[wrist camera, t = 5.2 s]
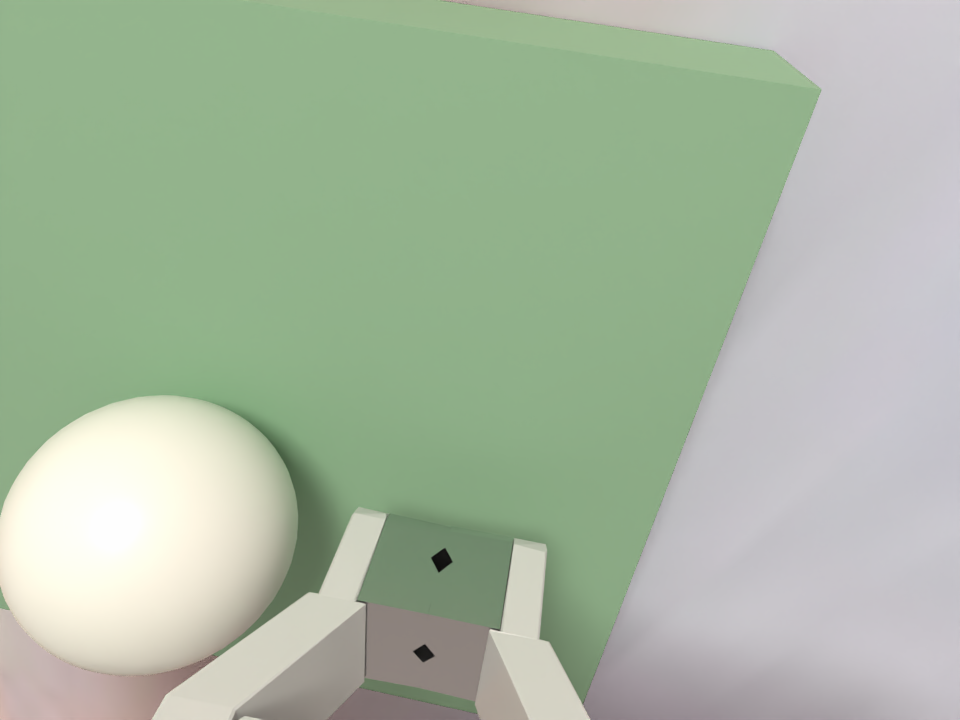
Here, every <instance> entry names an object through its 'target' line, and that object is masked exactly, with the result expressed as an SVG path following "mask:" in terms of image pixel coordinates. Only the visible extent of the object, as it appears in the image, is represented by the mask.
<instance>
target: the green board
mask: <svg viewBox="0 0 960 720" xmlns="http://www.w3.org/2000/svg"><path fill="white" fill-rule="evenodd" d="M820 92H821V89H820V88H819V87H818V86H817V85H815V84H814V83H813V82H812V81H810V80H809V79H808V78H807V77H805V76H804V75H803V74H802V73H800V72H799V71H798V70H797V69H795V68H794V67H793V66H792V65H790V64H789V63H788V62H787V61H786V60H784V59H783V58H782V57H781V56H779V55H778V54H777V53H776V52H774V51H771V50H765V49H758V48H752V47H745V46H738V45H732V44H725V43H719V42H712V41H705V40H699V39H692V38H685V37H679V36H672V35H666V34H659V33H652V32H646V31H639V30H632V29H626V28H619V27H613V26H606V25H599V24H593V23H586V22H580V21H573V20H566V19H560V18H553V17H546V16H540V15H533V14H527V13H520V12H513V11H507V10H500V9H493V8H487V7H480V6H474V5H467V4H460V3H454V2H447V1H441V0H0V515H1V512H2V508H3V505H4V501H5V499H6V497H7V495H8V493H9V491H10V489H11V486H12V485H13V483H14V481H15V479H16V478H17V476H18V475H19V473H20V472H21V470H22V469H23V467H24V466H25V464H26V463H27V461H28V460H29V459H30V458H31V457H32V456H33V455H34V454H35V453H36V452H37V450H38V449H39V448H40V447H41V446H42V445H43V444H44V443H45V442H46V441H47V440H48V439H50V438H51V437H52V436H53V435H54V434H56V433H57V432H58V431H59V430H61V429H62V428H64V427H65V426H67V425H68V424H70V423H71V422H73V421H75V420H76V419H78V418H80V417H81V416H83V415H85V414H87V413H89V412H92V411H94V410H96V409H99V408H101V407H104V406H106V405H109V404H111V403H115V402H119V401H123V400H127V399H132V398H136V397H144V396H157V395H175V396H182V397H189V398H196V399H200V400H204V401H208V402H211V403H213V404H216V405H219V406H221V407H224V408H226V409H228V410H230V411H232V412H234V413H235V414H237V415H239V416H241V417H242V418H244V419H245V420H246V421H248V422H249V423H251V424H252V425H253V426H254V427H256V428H257V429H258V430H259V431H260V432H261V433H262V434H263V435H264V436H265V437H266V438H267V439H268V440H269V441H270V442H271V444H272V445H273V446H274V447H275V449H276V451H277V452H278V454H279V455H280V457H281V458H282V460H283V462H284V463H285V465H286V468H287V470H288V472H289V474H290V478H291V481H292V484H293V487H294V490H295V494H296V500H297V509H298V531H297V541H296V545H295V550H294V554H293V558H292V562H291V565H290V567H289V570H288V572H287V575H286V577H285V579H284V581H283V583H282V585H281V587H280V589H279V591H278V592H277V594H276V596H275V598H274V599H273V601H272V602H271V603H270V604H269V606H268V607H267V608H266V610H265V611H264V612H263V613H262V615H261V616H260V617H259V618H258V620H257V621H256V622H255V623H254V624H253V625H252V626H251V627H249V628H248V629H247V630H246V631H245V632H244V633H243V634H242V635H240V636H239V637H238V638H237V639H235V640H234V641H233V642H231V643H230V644H229V645H227V646H226V647H225V648H223V649H221V650H220V651H218V652H216V653H214V654H212V655H214V656H220V655H222V654H223V653H225V652H226V651H227V650H229V649H230V648H232V647H233V646H234V645H236V644H237V643H239V642H240V641H241V640H243V639H244V638H246V637H247V636H248V635H250V634H251V633H252V632H254V631H255V630H257V629H258V628H259V627H261V626H262V625H264V624H265V623H266V622H268V621H269V620H271V619H272V618H273V617H275V616H276V615H278V614H279V613H280V612H282V611H283V610H285V609H286V608H287V607H289V606H290V605H291V604H293V603H294V602H296V601H297V600H298V599H300V598H301V597H303V596H304V595H305V594H307V593H308V592H312V593H318V594H319V591H320V589H321V587H322V584H323V582H324V580H325V577H326V575H327V572H328V570H329V568H330V565H331V563H332V561H333V558H334V556H335V554H336V551H337V549H338V547H339V544H340V542H341V540H342V537H343V535H344V533H345V530H346V528H347V525H348V523H349V521H350V518H351V516H352V514H353V513H354V512H355V510H356V509H357V508H358V507H362V508H366V509H371V510H376V511H380V512H385V513H391V514H395V515H400V516H404V517H409V518H413V519H418V520H422V521H427V522H431V523H436V524H440V525H445V526H449V527H451V526H454V527H460V528H465V529H471V530H476V531H482V532H487V533H492V534H498V535H503V536H509V537H513V540H514V538H517V539H522V540H527V541H532V542H537V543H542V544H546V547H547V559H546V570H545V581H544V593H543V604H542V615H541V626H540V638H539V639H541V640H545V641H549V642H550V644H551V646H552V648H553V650H554V652H555V653H556V655H557V657H558V659H559V661H560V663H561V665H562V667H563V669H564V670H565V672H566V674H567V676H568V678H569V680H570V682H571V684H572V685H573V687H574V689H575V691H576V693H577V695H578V697H579V699H580V700H581V702H582V704H583V703H584V700H585V698H586V695H587V692H588V690H589V687H590V685H591V682H592V680H593V677H594V674H595V672H596V669H597V667H598V664H599V662H600V659H601V656H602V654H603V651H604V649H605V646H606V644H607V641H608V638H609V636H610V633H611V631H612V628H613V625H614V623H615V620H616V618H617V615H618V613H619V610H620V607H621V605H622V602H623V600H624V597H625V595H626V592H627V589H628V587H629V584H630V582H631V579H632V577H633V574H634V571H635V569H636V566H637V564H638V561H639V559H640V556H641V553H642V551H643V548H644V546H645V543H646V540H647V538H648V535H649V533H650V530H651V528H652V525H653V522H654V520H655V517H656V515H657V512H658V510H659V507H660V504H661V502H662V499H663V497H664V494H665V492H666V489H667V486H668V484H669V481H670V479H671V476H672V474H673V471H674V468H675V466H676V463H677V461H678V458H679V456H680V453H681V450H682V448H683V445H684V443H685V440H686V437H687V435H688V432H689V430H690V427H691V425H692V422H693V419H694V417H695V414H696V412H697V409H698V407H699V404H700V401H701V399H702V396H703V394H704V391H705V389H706V386H707V383H708V381H709V378H710V376H711V373H712V371H713V368H714V365H715V363H716V360H717V358H718V355H719V352H720V350H721V347H722V345H723V342H724V340H725V337H726V334H727V332H728V329H729V327H730V324H731V322H732V319H733V316H734V314H735V311H736V309H737V306H738V304H739V301H740V298H741V296H742V293H743V291H744V288H745V286H746V283H747V280H748V278H749V275H750V273H751V270H752V267H753V265H754V262H755V260H756V257H757V255H758V252H759V249H760V247H761V244H762V242H763V239H764V237H765V234H766V231H767V229H768V226H769V224H770V221H771V219H772V216H773V213H774V211H775V208H776V206H777V203H778V201H779V198H780V195H781V193H782V190H783V188H784V185H785V182H786V180H787V177H788V175H789V172H790V170H791V167H792V164H793V162H794V159H795V157H796V154H797V152H798V149H799V146H800V144H801V141H802V139H803V136H804V134H805V131H806V128H807V126H808V123H809V121H810V118H811V116H812V113H813V110H814V108H815V105H816V103H817V100H818V97H819V95H820ZM0 608H2V609H6V610H10V609H9V607H8V605H7V603H6V601H5V599H4V596H3V593H2V590H1V587H0ZM359 688H363V689H368V690H372V691H377V692H381V693H386V694H390V695H395V696H400V697H404V698H409V699H413V700H418V701H422V702H427V703H431V704H436V705H440V706H445V707H449V708H454V709H458V710H463V711H467V712H472V713H476V714H478V712H477V709H476V706H475V701H471V700H467V699H463V698H459V697H454V696H450V695H446V694H442V693H438V692H434V691H430V690H426V689H422V688H421V687H420V688H417V687H411V686H406V685H400V684H395V683H390V682H384V681H379V680H373V679H368V678H364V683H363V684H362V685H361V686H360V687H359Z"/></svg>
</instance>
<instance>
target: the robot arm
mask: <svg viewBox="0 0 960 720" xmlns="http://www.w3.org/2000/svg"><path fill="white" fill-rule="evenodd" d="M546 559H547V547H546V544H542V543H537V542H532V541H527V540H522V539H517V538H514V540H513V537H509V536H503V535H498V534H492V533H487V532H482V531H476V530H471V529H465V528H460V527H454V526H451V527H449V526H445V525H440V524H436V523H431V522H427V521H422V520H418V519H413V518H409V517H404V516H400V515H395V514H391V513H385V512H380V511H376V510H371V509H366V508H362V507H358V508H357V509H356V510H355V512H354V513H353V514H352V516H351V518H350V521H349V523H348V525H347V528H346V530H345V533H344V535H343V537H342V540H341V542H340V544H339V547H338V549H337V551H336V554H335V556H334V558H333V561H332V563H331V565H330V568H329V570H328V572H327V575H326V577H325V580H324V582H323V584H322V587H321V589H320V591H319V594H318V593H312V592H308V593H307V594H305V595H304V596H303V597H301V598H300V599H298V600H297V601H296V602H294V603H293V604H291V605H290V606H289V607H287V608H286V609H285V610H283V611H282V612H280V613H279V614H278V615H276V616H275V617H273V618H272V619H271V620H269V621H268V622H266V623H265V624H264V625H262V626H261V627H259V628H258V629H257V630H255V631H254V632H252V633H251V634H250V635H248V636H247V637H246V638H244V639H243V640H241V641H240V642H239V643H237V644H236V645H234V646H233V647H232V648H230V649H229V650H227V651H226V652H225V653H223V654H222V655H220V656H219V657H218V658H216V659H215V660H214V661H212V662H211V663H209V664H208V665H207V666H205V667H204V668H202V669H201V670H200V671H198V672H197V673H195V674H194V675H193V676H191V677H190V678H188V679H187V680H186V681H184V682H183V683H182V684H180V685H179V686H177V687H176V688H175V689H173V690H172V691H170V692H169V693H168V694H166V696H165V697H164V699H163V701H162V703H161V704H160V706H159V708H158V710H157V711H156V713H155V715H154V717H153V718H152V720H327V719H328V718H329V717H330V716H331V715H332V714H333V713H334V712H335V711H336V710H337V709H338V708H339V707H340V706H341V705H342V704H343V703H344V702H345V701H346V700H347V699H348V698H349V697H350V696H351V695H352V694H353V693H354V692H355V691H356V690H357V689H358V688H359V687H360V686H361V685H362V684H363V683H364V678H368V679H373V680H379V681H384V682H390V683H395V684H400V685H406V686H411V687H417V688H420V687H421V688H422V689H426V690H430V691H434V692H438V693H442V694H446V695H450V696H454V697H459V698H463V699H467V700H471V701H475V706H476V709H477V712H478V715H479V718H480V720H591V719H590V717H589V716H588V714H587V712H586V710H585V708H584V706H583V704H582V702H581V700H580V699H579V697H578V695H577V693H576V691H575V689H574V687H573V685H572V684H571V682H570V680H569V678H568V676H567V674H566V672H565V670H564V669H563V667H562V665H561V663H560V661H559V659H558V657H557V655H556V653H555V652H554V650H553V648H552V646H551V644H550V642H549V641H545V640H541V639H539V638H540V626H541V615H542V604H543V593H544V581H545V570H546Z"/></svg>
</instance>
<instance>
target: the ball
mask: <svg viewBox="0 0 960 720" xmlns="http://www.w3.org/2000/svg"><path fill="white" fill-rule="evenodd" d="M297 531H298V509H297V500H296V494H295V490H294V487H293V484H292V481H291V478H290V474H289V472H288V470H287V468H286V465H285V463H284V462H283V460H282V458H281V457H280V455H279V454H278V452H277V451H276V449H275V447H274V446H273V445H272V444H271V442H270V441H269V440H268V439H267V438H266V437H265V436H264V435H263V434H262V433H261V432H260V431H259V430H258V429H257V428H256V427H254V426H253V425H252V424H251V423H249V422H248V421H246V420H245V419H244V418H242V417H241V416H239V415H237V414H235V413H234V412H232V411H230V410H228V409H226V408H224V407H221V406H219V405H216V404H213V403H211V402H208V401H204V400H200V399H196V398H189V397H182V396H175V395H157V396H144V397H136V398H132V399H127V400H123V401H119V402H115V403H111V404H109V405H106V406H104V407H101V408H99V409H96V410H94V411H92V412H89V413H87V414H85V415H83V416H81V417H80V418H78V419H76V420H75V421H73V422H71V423H70V424H68V425H67V426H65V427H64V428H62V429H61V430H59V431H58V432H57V433H56V434H54V435H53V436H52V437H51V438H50V439H48V440H47V441H46V442H45V443H44V444H43V445H42V446H41V447H40V448H39V449H38V450H37V452H36V453H35V454H34V455H33V456H32V457H31V458H30V459H29V460H28V461H27V463H26V464H25V466H24V467H23V469H22V470H21V472H20V473H19V475H18V476H17V478H16V479H15V481H14V483H13V485H12V486H11V489H10V491H9V493H8V495H7V497H6V499H5V501H4V505H3V508H2V512H1V515H0V587H1V590H2V593H3V596H4V599H5V601H6V603H7V605H8V607H9V609H10V610H11V612H12V614H13V616H14V617H15V619H16V621H17V622H18V624H19V625H20V626H21V627H22V629H23V630H24V631H25V632H26V633H27V634H28V635H29V636H30V637H31V638H32V639H33V640H34V641H35V642H36V643H37V644H38V645H39V646H41V647H42V648H43V649H44V650H46V651H47V652H49V653H50V654H52V655H53V656H55V657H57V658H59V659H60V660H62V661H64V662H66V663H69V664H71V665H73V666H76V667H78V668H81V669H84V670H88V671H92V672H97V673H102V674H108V675H115V676H143V675H153V674H159V673H164V672H168V671H173V670H177V669H180V668H183V667H186V666H188V665H191V664H193V663H196V662H199V661H201V660H203V659H205V658H207V657H209V656H210V655H212V654H214V653H216V652H218V651H220V650H221V649H223V648H225V647H226V646H227V645H229V644H230V643H231V642H233V641H234V640H235V639H237V638H238V637H239V636H240V635H242V634H243V633H244V632H245V631H246V630H247V629H248V628H249V627H251V626H252V625H253V624H254V623H255V622H256V621H257V620H258V618H259V617H260V616H261V615H262V613H263V612H264V611H265V610H266V608H267V607H268V606H269V604H270V603H271V602H272V601H273V599H274V598H275V596H276V594H277V592H278V591H279V589H280V587H281V585H282V583H283V581H284V579H285V577H286V575H287V572H288V570H289V567H290V565H291V562H292V558H293V554H294V550H295V545H296V541H297Z"/></svg>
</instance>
